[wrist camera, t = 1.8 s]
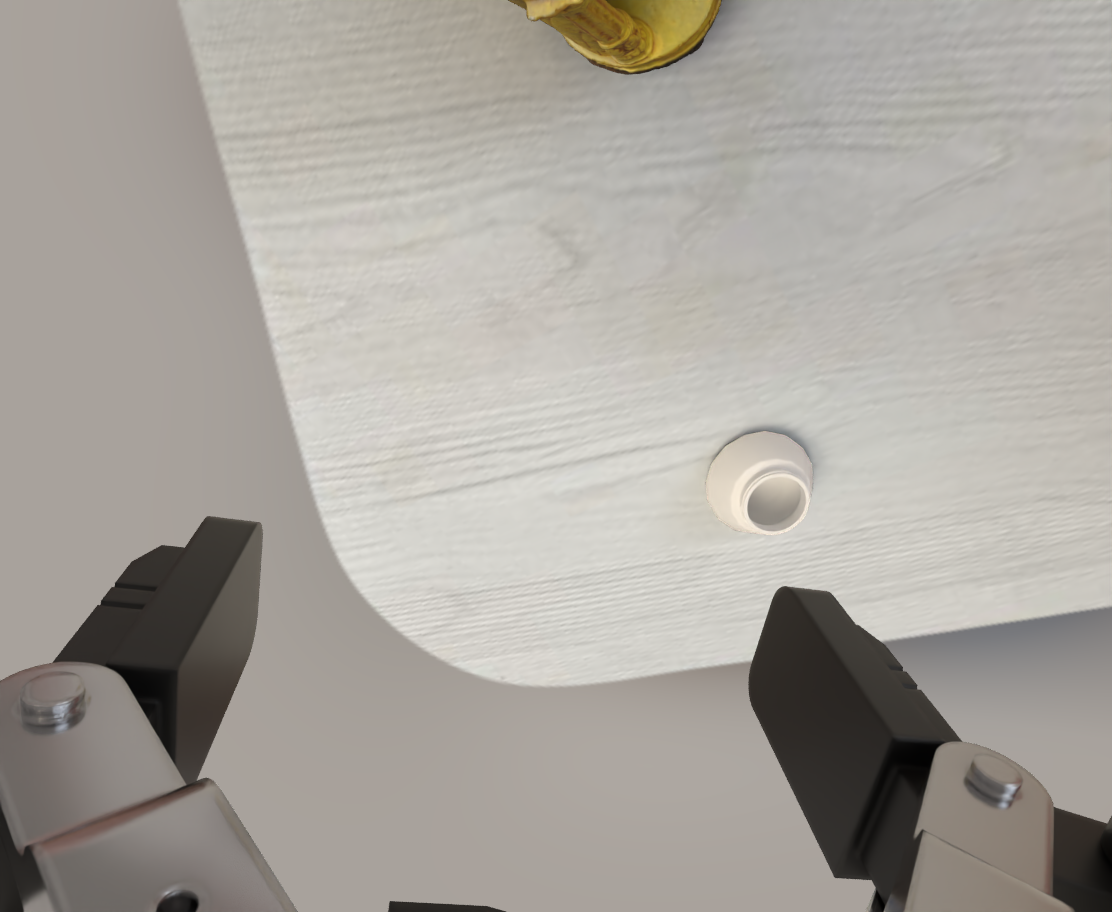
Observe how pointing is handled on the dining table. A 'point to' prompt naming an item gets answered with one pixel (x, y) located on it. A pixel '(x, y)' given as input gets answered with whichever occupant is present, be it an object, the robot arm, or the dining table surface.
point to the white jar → (760, 484)
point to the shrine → (628, 29)
